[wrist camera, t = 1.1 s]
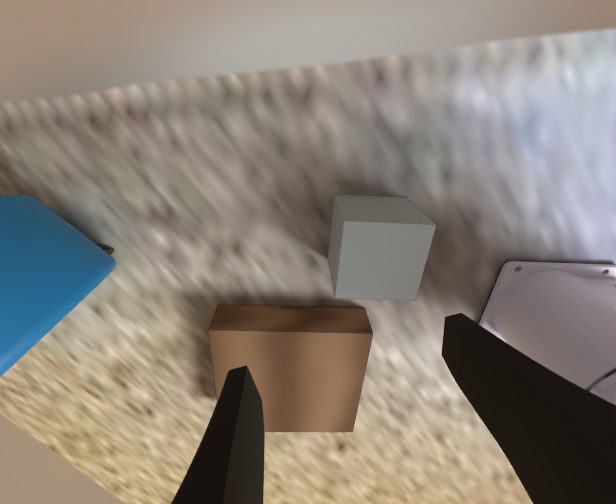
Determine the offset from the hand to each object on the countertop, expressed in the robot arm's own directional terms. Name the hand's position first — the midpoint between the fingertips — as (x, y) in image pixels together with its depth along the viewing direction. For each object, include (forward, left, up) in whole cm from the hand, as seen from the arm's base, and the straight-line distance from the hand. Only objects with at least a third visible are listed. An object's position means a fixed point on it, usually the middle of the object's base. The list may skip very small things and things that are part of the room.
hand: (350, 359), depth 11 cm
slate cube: (-3, 0, -12) cm, 12 cm away
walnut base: (+2, +13, -12) cm, 18 cm away
